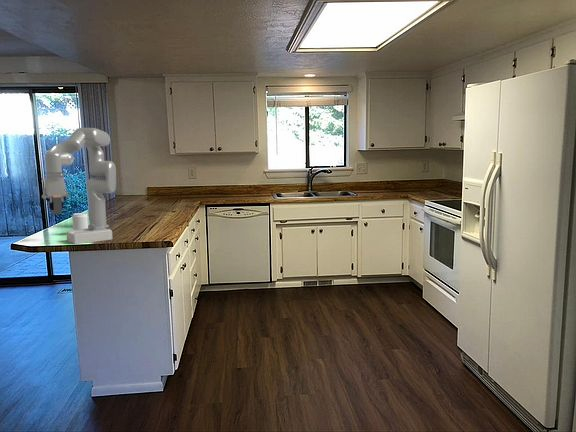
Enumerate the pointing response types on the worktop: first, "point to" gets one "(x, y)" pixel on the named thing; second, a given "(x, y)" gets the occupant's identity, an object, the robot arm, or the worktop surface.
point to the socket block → (88, 235)
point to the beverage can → (80, 221)
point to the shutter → (94, 227)
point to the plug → (57, 205)
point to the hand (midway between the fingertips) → (56, 209)
